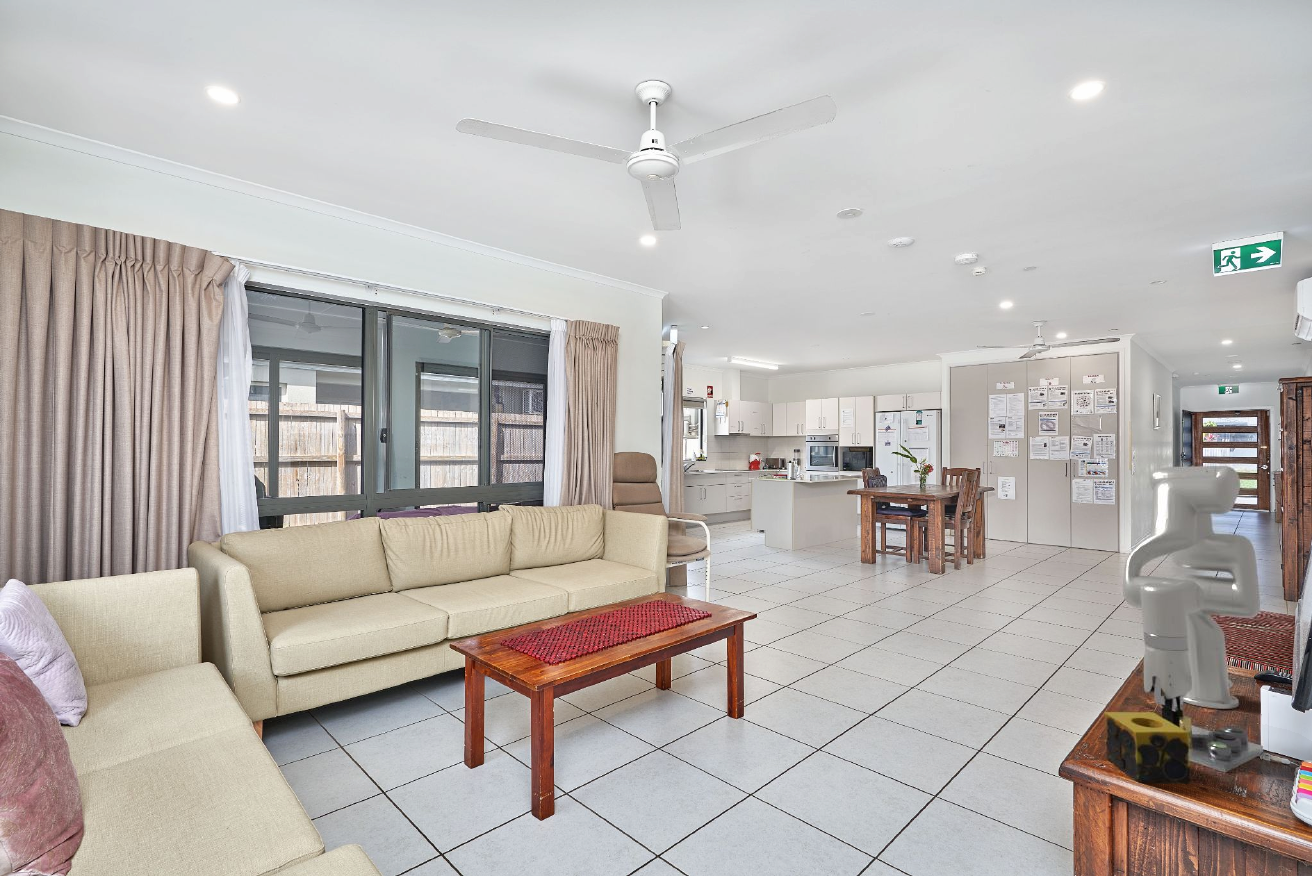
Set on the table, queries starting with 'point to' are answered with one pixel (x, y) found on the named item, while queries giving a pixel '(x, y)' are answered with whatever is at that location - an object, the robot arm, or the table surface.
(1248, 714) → the table surface
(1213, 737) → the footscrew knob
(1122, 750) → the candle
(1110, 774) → the table surface
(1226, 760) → the plate
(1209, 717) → the table surface
